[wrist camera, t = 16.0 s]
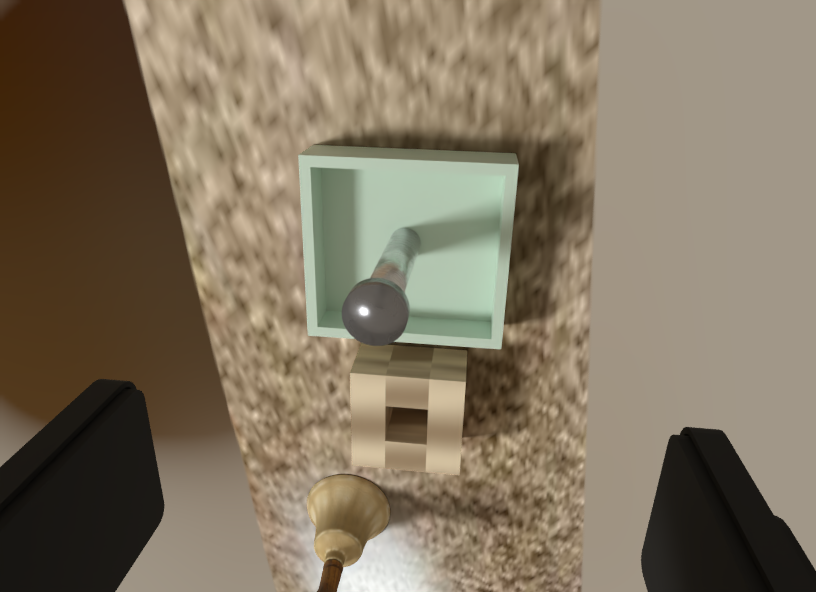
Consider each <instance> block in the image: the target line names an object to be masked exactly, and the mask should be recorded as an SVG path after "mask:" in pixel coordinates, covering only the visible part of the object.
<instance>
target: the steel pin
mask: <svg viewBox="0 0 816 592" xmlns="http://www.w3.org/2000/svg"><path fill="white" fill-rule="evenodd" d="M420 245H421V242H420V238H419V236H418V234H417V233H416V232H415V231H413V230H412V229H409V228H400V229H397V230H396V231H394V232H393V234H392V235H391V237H390V239H389V241H388V243H387V245H386V247H385V249H384V251H383V253H382V255H381V257H380V259H379V261H378V263H377V265H376V267H375V269H374V271H373V273H372V275H371V277H370V278H369V279H365V280H362V281H360V282H359V283H357V284H356V285H355V286H354V287H353V288H352V289H351V291H350V292H349V294H348V296H347V298H346V299H345V301H344V303H343V306H342V320H343V323H344V326H345V328H346V330H347V331H348V332H349V333H350V335H351V336H353V337H354V338H355V339H356V340H358V341H360V342H362V343H364V344H367V345H371V346H383V345H387V344H390V343H392V342H394V341H395V340H397V339H398V338H399V337H400V336H401V335H402V334H403V332H404V330H405V328H406V325H407V322H408V318H409V314H410V305H409V301H408V298H407V296H406V294H405V290H406V287H407V284H408V281H409V278H410V275H411V272H412V269H413V266H414V264H415V261H416V258H417V255H418V252H419V249H420Z"/></svg>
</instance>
